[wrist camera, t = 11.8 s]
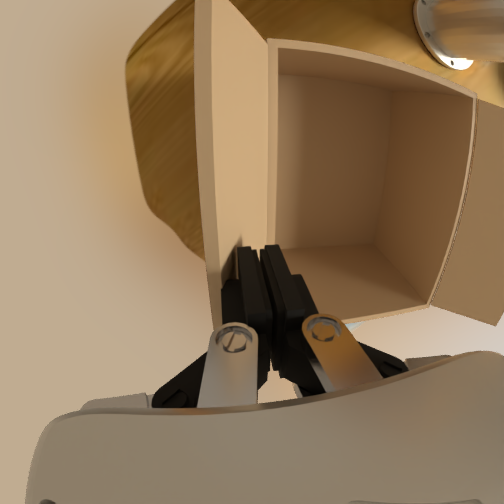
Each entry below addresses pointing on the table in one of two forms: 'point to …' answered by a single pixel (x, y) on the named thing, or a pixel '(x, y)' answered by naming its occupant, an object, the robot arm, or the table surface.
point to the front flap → (230, 139)
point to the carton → (364, 175)
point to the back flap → (479, 230)
